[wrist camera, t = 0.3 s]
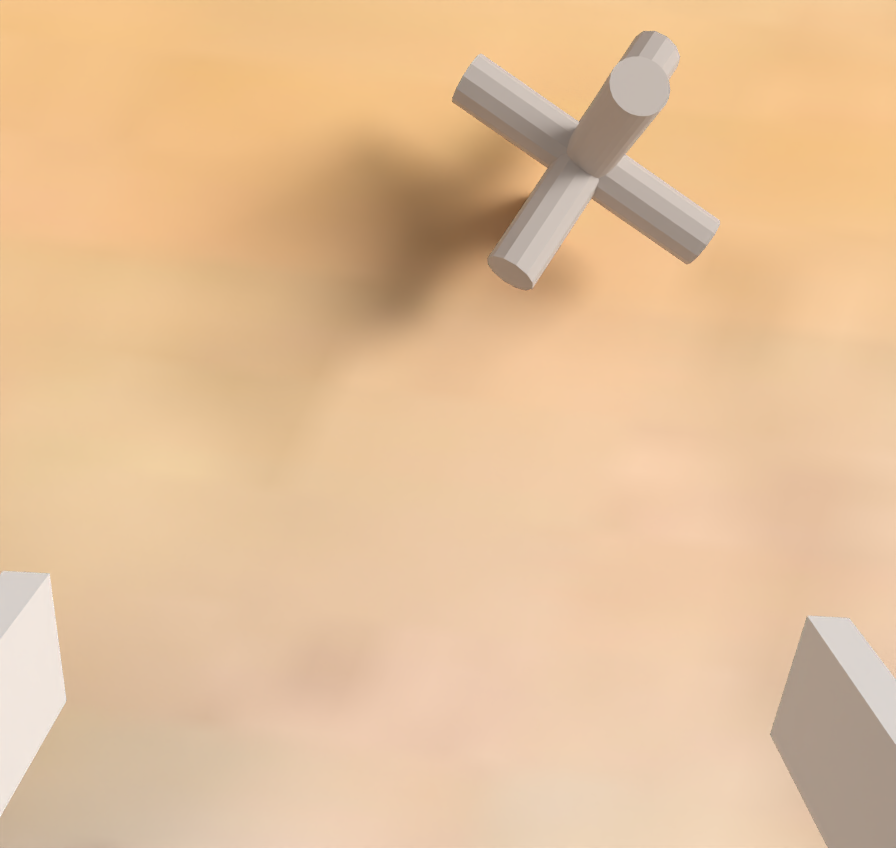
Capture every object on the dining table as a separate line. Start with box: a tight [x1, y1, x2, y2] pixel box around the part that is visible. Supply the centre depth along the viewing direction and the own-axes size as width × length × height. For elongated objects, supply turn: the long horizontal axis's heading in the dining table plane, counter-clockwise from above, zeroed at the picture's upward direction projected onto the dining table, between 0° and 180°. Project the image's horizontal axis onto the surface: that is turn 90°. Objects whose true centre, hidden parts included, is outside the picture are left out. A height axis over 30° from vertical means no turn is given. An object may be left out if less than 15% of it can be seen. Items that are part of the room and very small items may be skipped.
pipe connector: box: [452, 31, 720, 290], centre depth 28 cm, size 10×10×10 cm
